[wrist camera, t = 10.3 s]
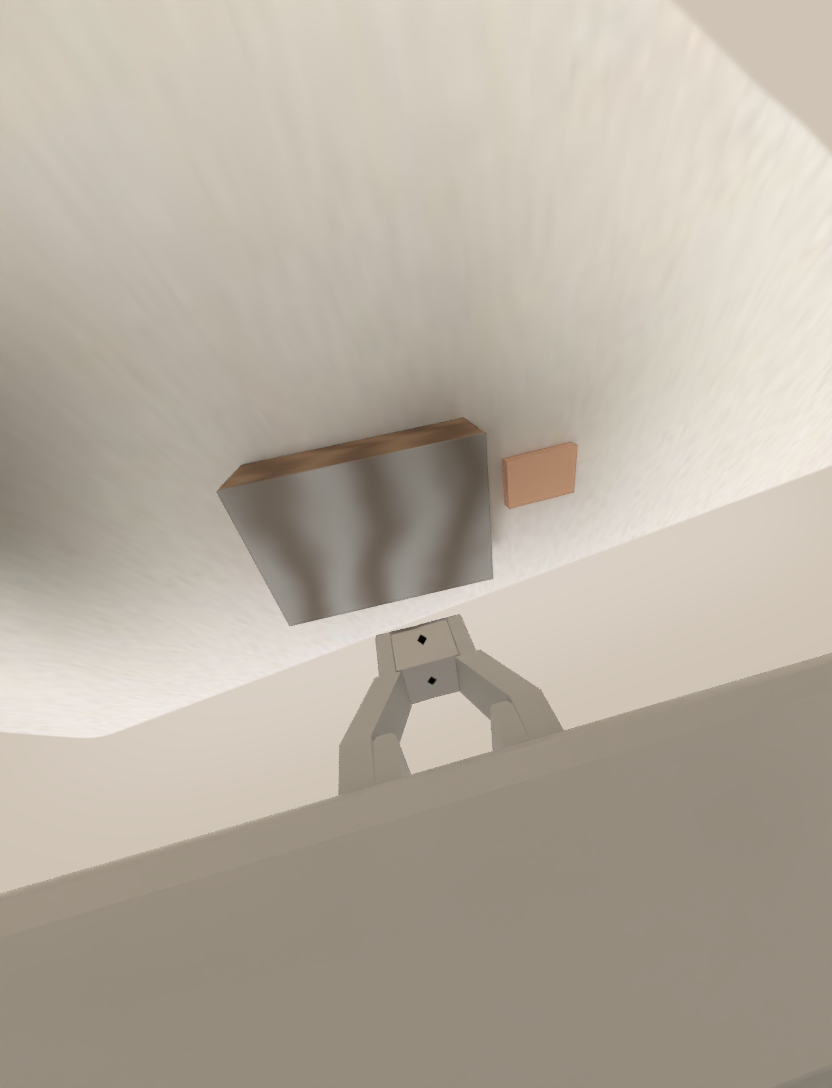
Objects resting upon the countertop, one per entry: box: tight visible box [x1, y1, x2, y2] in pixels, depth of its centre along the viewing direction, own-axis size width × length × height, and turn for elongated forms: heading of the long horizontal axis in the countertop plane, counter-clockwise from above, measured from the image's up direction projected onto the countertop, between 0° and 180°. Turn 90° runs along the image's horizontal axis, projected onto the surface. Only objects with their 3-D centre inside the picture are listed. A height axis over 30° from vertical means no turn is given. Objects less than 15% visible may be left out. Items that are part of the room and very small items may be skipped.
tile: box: [502, 442, 577, 509], centre depth 33 cm, size 7×5×2 cm
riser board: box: [216, 418, 493, 626], centre depth 30 cm, size 20×14×6 cm
